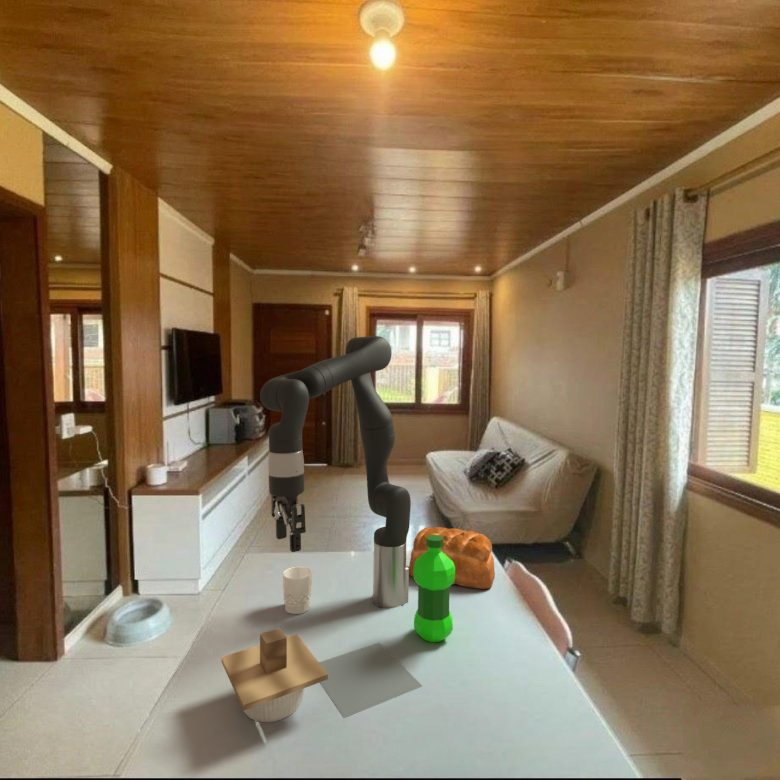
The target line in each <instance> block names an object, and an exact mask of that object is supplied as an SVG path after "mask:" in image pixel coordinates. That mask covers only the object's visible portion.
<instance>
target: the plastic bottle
mask: <svg viewBox="0 0 780 780" xmlns="http://www.w3.org/2000/svg"><path fill="white" fill-rule="evenodd" d="M426 546H428V551H427V552H425V553H424V554H422V555H421V556H420V557H419V558H417V559H416V561H415V564H414V569H413V576H414V578H413V580H414V582H415V583H417V586H418V588H417V591H418V592H417V593H418V594H417V597H418V598H417V610H416V612H415V614H414V617H413V618H414V620H413V628H414V631H415V632H416V634H418V636H419V637H421V638H422V639H423V640H425V641H427V642H430V643H441V642H443V641H444V640H445V639H446V638H448V637H449V636H450V635H451V634H452V632H453V626H454V625H453V616H452V613H451V611H450V590H451V589H450V587H451V586H452V585H454V584H453V583H454V580H455V566H454V563H453V561H452V560H451V559H450V558H449V557H448V556H446V555H445V554H444V553H443V552H442V551H441V547H443V537H442V536H440V535H429V536H427V537H426Z"/></svg>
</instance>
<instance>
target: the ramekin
mask: <svg viewBox="0 0 780 780" xmlns="http://www.w3.org/2000/svg"><path fill="white" fill-rule="evenodd" d="M304 693H305V688H303V689H301V690H298V691H295V692H293V693H290V694H287V695H285V696H282V697H279V698H276V699H274V700H271V701H268V702H266V703H263V704H260V705H258V706H255V707H252V708H250V709H247V710H244V711H243V712H244V714H245V715H246V716H247V717H248V718H249V719H250V720H252V719H253V721H254V720H255V722H256V723H257V722H258V723H262V722H263V723H270V722H271V723H272V722H277V721H279V720H283V719H286V718H287V717H289V716H292V714H293V713H295V712H296V711H297V709H298V708H300V705H301V703H302V702H303V699H304Z"/></svg>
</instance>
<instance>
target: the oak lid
mask: <svg viewBox="0 0 780 780" xmlns="http://www.w3.org/2000/svg"><path fill="white" fill-rule="evenodd" d="M220 660H221V665H222V667H223V668H224V671H225V673H226V676H227V677H228V680H229V682H230V684H231V686H232V688H233V691H234V693H235V695H236V697H237V699H238V703H239V704H240V706H241V709H242V710H243V712H244V710H247V709H250V708H252V707H255V706H258V705H260V704H263V703H266V702H268V701H271V700H274V699H276V698H279V697H282V696H285V695H287V694H290V693H293V692H295V691H298V690H301V689H303V688H304V689H305V688H308V687H311V686H315V685H316V684H320V682H322V681H325V680H327V679H328V674H327V672H326V671H325V670H324V668H323V667H322V666H321V665H320V663H319V662H320V661H318V660H317V658H316V656H314V654H313V653H312V652H311V650H310V649H309V648H308V647H307V645H306V644H305V643H304V641H303V640H302V639H301V638H300V636H299V635H298V633H295V634H292V635H289V636H286V635H285V633H284V631H283V630H282V629H281V627H278V628H274V629H272V630H268V631H265V632H261V633H259V644H258V645H256V646H253V647H248V648H246V649H243V650H240V651H236V652H234V653H233V652H232V653H229V654H226V655H223V656H221V657H220Z"/></svg>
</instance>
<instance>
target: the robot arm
mask: <svg viewBox="0 0 780 780" xmlns="http://www.w3.org/2000/svg"><path fill="white" fill-rule="evenodd" d="M391 359H392V346H391V344H390V342H389V341H388V340H387V339H386V338H384V337H382V336H379V335H372V336H357V337H353V338H352V337H351V338H350V339H349V340H348V341H347V344H346V346H345V354H343V355H339V356H335V357H331V358H327V359H323V360H321V361H318V362H315V363H313V364H311V365H308V366H307V367H305V368H303V369H301V370H296V371H293V372H290V373H284V374H282V375H279V376H276V377H273V378H271V379H268V381H266V382H265V383H264V384H263V386H262V387H261V389H260V391H259V392H260V393H259V398H260V402H261V404H262V405H263V407H264V408H266V409H267V410H270V411H273V412H281V413H282V414H281V417H280V420H279V422H275V423H274V424H272V425H271V426H270V427H269V428H268V451H269V452H268V465H267V466H268V493H269V495H271V500H270V501H271V517H272V518H273V520H274V523H275V535H276V536H275V538H276V539H277V540H282V539H286V538H287V535H288V534H287V530H288V533H289V550H290V552H292V553H296V552H299V551H301V550H302V536H301V535H302V534H305V533H306V530H307V529H306V511H305V504H304V503H302V504H300V502H299V500H298V496H299V495H301V494H303V493H304V492H305V460H304V453H303V452H304V451H303V428H304V425H305V422H306V416H307V412H308V409H309V404H310V399H313V398H317V397H320V396H321V395H323V394H325V393H326V392H328V391H331V390H333V389H334V388H337V387H339V386H340V385H342V384H344V383H346V382H348V381H350V383H351V386H352V390H353V393H354V399H355V404H356V410H357V416H358V424H359V429H360V430H359V431H360V438H361V442H362V447H363V455H364V462H365V469H366V470H365V471H366V488H367V501H368V505H369V508H370V510H371V512H372V513H374V514H375V515H378V516H380V517H383V518H385V526H380V527H379V528H377V529H376V530H375V531H374V532H373V565H372V566H373V568H372V569H373V573H372V574H373V575H372V576H373V577H372V578H373V581H372V585H373V586H372V588H373V589H372V596H373V597H372V602H373V603H374V605H375V606H377V607H378V608H379V607H380V608H382V609H383V608H390V609H391V608H398V607H400V606H403V605H404V604H405V603H406V602H407V603H408V602H409V587H410V585H409V583H410V576H409V575H410V574H409V567H408V566H407V537H408V533H409V530H410V522H411V521H410V520H411V507H412V503H411V496H410V492H409V491H408V489H406V488H405V487H403V486H399V485H395V484H392V483H390V480H389V476H388V462H389V459H390V455H391V453H392V451H393V449H394V445H395V442H396V434H395V427H394V420H393V417H392V413H391V411H390V408H388V406H387V404H385V402H384V400H383V399H382V398H381V397H380V395H379V393H378V392H377V390H376V387H375V386H374V383H373V380H372V375H371V373H374V372H378V371H382V370H384V369H386V368H387V367H388V366H389V365H390V363H391Z"/></svg>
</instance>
